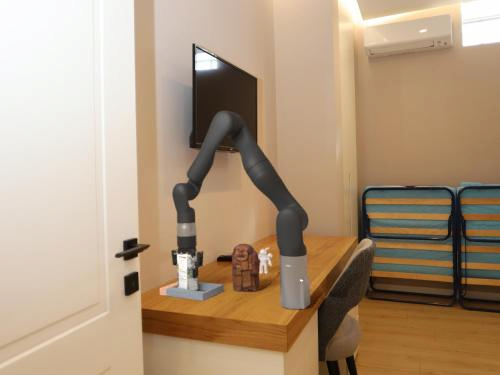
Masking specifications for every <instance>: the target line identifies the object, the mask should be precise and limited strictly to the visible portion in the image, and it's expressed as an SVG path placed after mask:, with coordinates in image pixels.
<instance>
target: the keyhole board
mask: <svg viewBox="0 0 500 375" xmlns="http://www.w3.org/2000/svg"><path fill="white" fill-rule="evenodd" d="M222 292H224V284H222V283H214V282H213V283H212V282H202V281H198V290H196V291H194V290H187V289H183V288H178V281H176V282H173V283H170V284H167V285H165V286H162V287H160V288H159V295H160V296H168V297H173V298H180V299H187V300H193V301H194V300H195V301H201V302H202V301H203V302H204V301H205V300H208V299H210V298H212V297H214V296H216V295H218V294H221V293H222Z"/></svg>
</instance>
